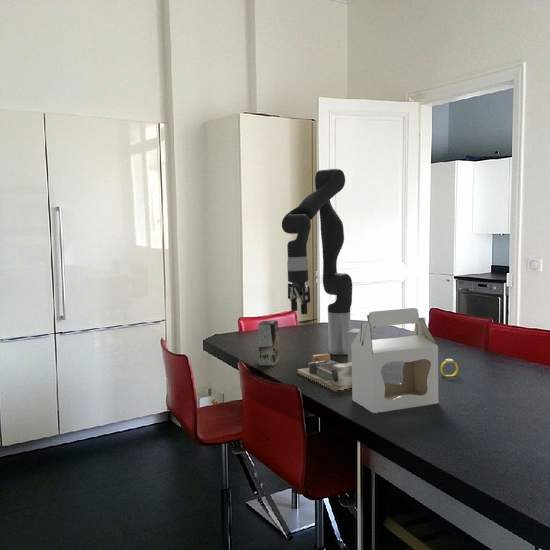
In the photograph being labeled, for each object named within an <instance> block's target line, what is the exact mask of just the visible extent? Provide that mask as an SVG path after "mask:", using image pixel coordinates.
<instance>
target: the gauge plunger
mask: <svg viewBox="0 0 550 550" xmlns="http://www.w3.org/2000/svg"><path fill="white" fill-rule="evenodd" d="M334 361H335V360H331V354H330V353H329V352H328V353H320V354H313V355H312V360H311V363H314V362H315V363H316V365H317V366H319V367H321V368H323V369H326V370H328V371H332V365H336V362H337V361H335V362H334ZM309 363H310V362H308V364H307V365H308V366H309Z"/></svg>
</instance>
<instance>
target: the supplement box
mask: <svg viewBox="0 0 550 550" xmlns="http://www.w3.org/2000/svg"><path fill="white" fill-rule="evenodd" d="M360 329H361V328H352V329H351V330H350V331H348V332H347V343H348V354H347V363H349V362H352V349H351V345H352V343H353V341H354V339H355V338H356V336H357V334H358V332H359V331H360Z"/></svg>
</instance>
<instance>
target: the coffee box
mask: <svg viewBox="0 0 550 550" xmlns="http://www.w3.org/2000/svg"><path fill="white" fill-rule="evenodd" d="M257 327H258V328H257V334H258V338H257V339H258V341H257V342H258V365H259V366H271V367H272V366H276V364H277V363H278V362H279V361H280V353H279V346H280V345H279V321H278V320H262V321H260V322H259V323H258V324H257Z"/></svg>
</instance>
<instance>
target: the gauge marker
mask: <svg viewBox="0 0 550 550" xmlns="http://www.w3.org/2000/svg"><path fill="white" fill-rule="evenodd" d="M308 363H309V365H308V368H309V373H310V374H313V373H316V363H315V362H314V363H312V362H308Z"/></svg>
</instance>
